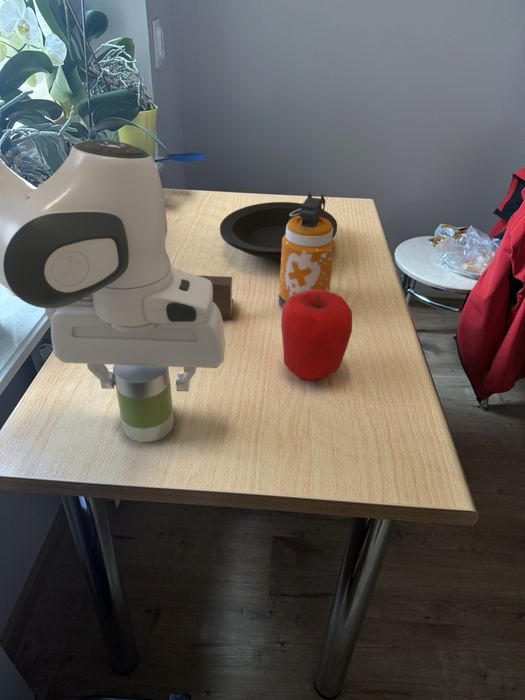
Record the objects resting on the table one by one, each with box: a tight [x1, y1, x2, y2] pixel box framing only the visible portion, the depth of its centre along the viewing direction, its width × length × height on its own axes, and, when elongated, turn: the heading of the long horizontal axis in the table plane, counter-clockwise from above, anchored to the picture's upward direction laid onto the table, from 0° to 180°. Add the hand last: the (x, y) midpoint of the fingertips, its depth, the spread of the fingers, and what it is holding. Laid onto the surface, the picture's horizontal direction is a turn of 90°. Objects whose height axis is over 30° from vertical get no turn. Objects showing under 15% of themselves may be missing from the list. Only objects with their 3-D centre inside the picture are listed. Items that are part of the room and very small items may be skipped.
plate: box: [219, 201, 338, 260], centre depth 115 cm, size 28×24×6 cm
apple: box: [280, 289, 353, 381], centre depth 77 cm, size 10×10×14 cm
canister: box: [278, 192, 336, 308], centre depth 92 cm, size 9×11×20 cm
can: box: [112, 364, 174, 443], centre depth 68 cm, size 7×7×10 cm
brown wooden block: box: [195, 274, 234, 321], centre depth 93 cm, size 18×6×7 cm, turn 88°
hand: (146, 387), depth 67 cm, fingers open, 8 cm apart
